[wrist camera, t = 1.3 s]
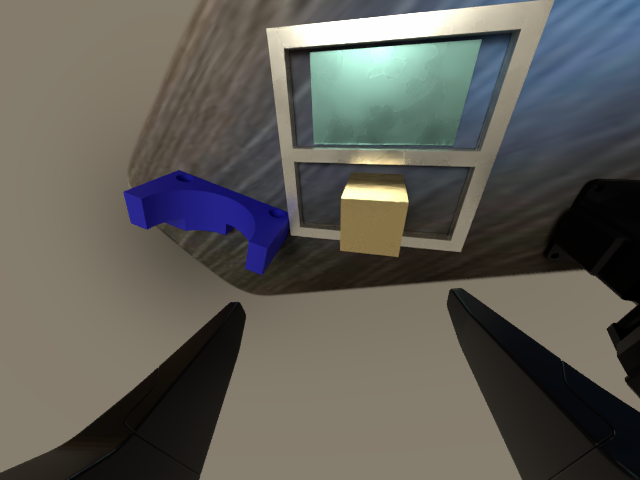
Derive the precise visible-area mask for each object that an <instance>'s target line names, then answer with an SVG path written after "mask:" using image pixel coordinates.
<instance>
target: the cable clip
mask: <svg viewBox="0 0 640 480" xmlns="http://www.w3.org/2000/svg"><path fill="white" fill-rule="evenodd" d="M124 196H125V200H126V205H127V209H128V213H129V217H130V221H131V223H132V224H134V225H137V226H139V227H142V228H145V229H149V228H151V227H153V226H155V225H158V224H160V223H163V222H165V223H167V224H170V225H173V226H175V227H178V228H180V229H183V230H185V231H188V230H205V231H212V232H217V233H221V234H224V235H226V234H227V233H228V232H229V231H231V230H232V229H233V227H234V228H236V229H237V230H239V231H240V232H241V233H242V234H244V236H245V237H246V238H247V239H248V241H249V246H248V254H247V261H246V268H245V269H248V270H250V271H253V272H255V273H258V274H261V275H262V274H263V273H264V271H265V270H266V268H267V267H268V265H269V264H270V262H271V261H272V259H273V258H274V256H275V255H276V253H277V252H278V250H279V249H280V247H281V246H282V244H283V243H284V241H285V240H286V238H287V234H288V230H289V226H290V223H289V215H288V212H285V211H283V210H280V209H278V208H275V207H273V206H270V205H267V204H265V203H262V202H260V201H257V200H255V199H252V198H249V197H247V196H244V195H242V194H239V193H237V192H234V191H231V190H229V189H226V188H224V187H221V186H219V185H216V184H213V183H211V182H208V181H206V180H203V179H201V178H198V177H195V176H193V175H190V174H188V173H185V172H183V171H180V170H178V171H176V172H173V173H170V174H168V175H165V176H163V177H160V178H158V179H155V180H152V181H150V182H147V183H145V184H142V185H140V186H137V187H134V188H132V189H129V190H127V191H124Z"/></svg>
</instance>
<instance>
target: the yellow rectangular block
mask: <svg viewBox="0 0 640 480" xmlns="http://www.w3.org/2000/svg"><path fill="white" fill-rule="evenodd" d="M408 204H409V201H408V197H407V192H406V187H405V183H404V178H403V174H378V173H351V175H350V177H349V180H348V182H347V185H346V187H345V190H344V192H343V195H342V197H341V231H340V251H348V252H358V253H367V254H376V255H385V256H395V257H398V256H399V251H400V245H401V240H402V235H403V230H404V225H405V219H406V214H407V209H408Z"/></svg>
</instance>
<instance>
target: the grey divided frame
mask: <svg viewBox="0 0 640 480" xmlns="http://www.w3.org/2000/svg"><path fill="white" fill-rule="evenodd" d="M553 2H554V0H540V1H530V2H520V3H511V4H501V5H491V6H481V7H472V8H462V9H452V10H443V11H433V12H423V13H413V14H404V15H394V16H384V17H375V18H365V19H355V20H345V21H336V22H326V23H316V24H307V25H297V26H287V27H277V28H268V29H267V37H268V46H269V54H270V63H271V71H272V80H273V88H274V96H275V105H276V113H277V122H278V130H279V139H280V147H281V156H282V164H283V173H284V181H285V190H286V198H287V206H288V215H289V223H290V232H291V235H293V236H303V237H313V238H323V239H334V240H340V231H341V225H330V224H318V223H306V222H303V216H302V204H301V192H300V180H299V167H298V162H318V163H354V164H390V165H426V166H462V167H470V168H469V171H468V174H467V177H466V180H465V183H464V186H463V190H462V193H461V196H460V199H459V202H458V205H457V208H456V212H455V215H454V218H453V221H452V224H451V227H450V230H449V233H448V235H447V234H435V233H423V232H412V231H403V235H402V240H401V245H400V246H404V247H414V248H425V249H435V250H445V251H455V252H461V250H462V247H463V244H464V242H465V239H466V236H467V234H468V231H469V228H470V226H471V223H472V220H473V218H474V215H475V212H476V209H477V207H478V204H479V201H480V199H481V196H482V193H483V191H484V188H485V185H486V183H487V180H488V177H489V174H490V172H491V169H492V166H493V164H494V161H495V158H496V156H497V153H498V150H499V148H500V145H501V142H502V140H503V137H504V134H505V131H506V129H507V126H508V123H509V121H510V118H511V115H512V113H513V110H514V107H515V105H516V102H517V99H518V96H519V94H520V91H521V88H522V86H523V83H524V80H525V78H526V75H527V72H528V70H529V67H530V64H531V62H532V59H533V56H534V53H535V51H536V48H537V45H538V43H539V40H540V37H541V35H542V32H543V29H544V27H545V24H546V21H547V19H548V16H549V13H550V10H551V8H552V5H553ZM504 33H512V36H511V39H510V42H509V45H508V49H507V52H506V55H505V58H504V61H503V64H502V67H501V70H500V74H499V77H498V80H497V83H496V86H495V89H494V92H493V96H492V99H491V102H490V105H489V108H488V111H487V114H486V118H485V121H484V124H483V127H482V130H481V133H480V136H479V139H478V143H477V146H476V148H414V147H335V146H297V143H296V131H295V118H294V106H293V94H292V82H291V69H290V57H289V51H290V50H302V49H315V48H328V47H340V46H353V45H365V44H378V43H390V42H403V41H416V40H428V39H441V38H453V37H466V36H479V35H491V34H504ZM481 41H482V39H479V40H466V41H452V42H439V43H426V44H413V45H400V46H387V47H374V48H361V49H347V50H334V51H321V52H310V64H311V88H312V111H313V134H314V144H357V145H451V146H453V145H454V142H455V138H456V134H457V130H458V127H459V123H460V119H461V116H462V112H463V108H464V104H465V101H466V97H467V93H468V89H469V86H470V82H471V78H472V74H473V71H474V67H475V63H476V59H477V56H478V52H479V48H480V45H481Z"/></svg>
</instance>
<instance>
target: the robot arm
mask: <svg viewBox="0 0 640 480" xmlns="http://www.w3.org/2000/svg"><path fill="white" fill-rule="evenodd" d="M598 185H600V187H599V188H597V189H595V190H594V188H595V187H596V186H598ZM554 253H556V254H555V255H552V254H554ZM544 256H545V257H546V258H547V259H548V260H550V261H557V262H567V263H578V264H579V265H580V266H582V267H583V268H584V269H585V270H586V271H587V272H588V273H589V274H591V275H593V276H596V277H597V278H598V279H600V280H601V281H602V282H603V283H604V284H606V285H607V286H608V287H609V288H610V289H611V290H612V291H613V292H614V293H616V294H617V295H618V296H619V297H620V298H621V299H623V300H628V301H632V302H634V303H635V304H636V305H637V306H636V307H635V308H634V309H632V310H631V311H630V312H629V313H628V314H627V315H625V316H624V317H623V318H622V319H621V320H620V321H618V322H617V323H613V324H611V325H610V326H609V327H608V328H607V331H608V333H609V336H610V337H611V340H612V342H613V344H614V347H615V349H616V351H617V357H618V359H619V361H620V363H621V364H622V366H623V368H624V370H625V371H626V373H627V375H628V376H627V377H625V381H626V383H627V385H628V386H629V387H630V388H631V389H632V391H633V392H634V393H636V395H637V396H638V397H639V398H640V180H619V179H595V180H592V181H591V182H589V183H588V184H587V185H586V186H585V188H584V189H583V191H582V193H581V194H580V196H579V198H578V199H577V201H576V202H575V204H574V206H573V207H572V209H571V211H569V213H568V215H567V216H566V218H565V220H564V221H563V223H562V224H561V226H560V228H559V229H558V231H557V233H556V234H555V236H554V237H553V240H552V241H551V243H550V245H549V246H548V248H547V249H546V251H545V253H544ZM447 308H448V311H449V314H450V317H451V320H452V323H453V326H454V329H455V332H456V335H457V338H458V340H459V343H460V346H461V348H462V351H463V353H464V355H465V357H466V359H467V361H468V364H469V366H470V368H471V370H472V372H473V374H474V377H475V379H476V381H477V383H478V385H479V387H480V390H481V392H482V394H483V396H484V398H485V400H486V402H487V405H488V407H489V409H490V411H491V413H492V415H493V418H494V420H495V422H496V424H497V426H498V428H499V431H500V433H501V435H502V437H503V439H504V441H505V444H506V446H507V448H508V450H509V452H510V454H511V456H512V459H513V460H514V463H515V465H516V467H517V469H518V471H519V474H520V476H521V478H522V480H640V412H638V411H637V410H635V409H634V408H632V407H630V406H629V405H627V404H626V403H624V402H623V401H621V400H620V399H618V398H617V397H615V396H613V395H612V394H611V393H609V392H608V391H606V390H604V389H603V388H601V387H600V386H598V385H597V384H596V383H594V382H592V381H591V380H590V379H588V378H587V377H585V376H584V375H583V374H581V373H579V372H578V371H577V370H575V369H574V368H572V367H571V366H570V365H568V364H567V363H565V362H564V361H561V359H560V358H559V357H557V356H556V355H554V354H553V353H551V352H550V351H549V350H547V349H546V348H545V347H543V346H542V345H540V344H539V343H538V342H536V341H535V340H533V339H532V338H531V337H529V336H528V335H526V334H525V333H524V332H522V331H521V330H519V329H518V328H517V327H515V326H514V325H512V324H511V323H510V322H508V321H507V320H505V319H504V318H503V317H501V316H500V315H498V314H497V313H496V312H494V311H493V310H491V309H490V308H489V307H487V306H486V305H485V304H483V303H482V302H480V301H479V300H478V299H476V298H475V297H473V296H472V295H471V294H469V293H467V292H466V291H465V290H464V289H462V288H455V289H451V290H450V291H449V295H448V300H447ZM245 320H246V314H245V311H244V310H243V308H242V306H241V304H240V303H239V302H231V303H229V304H228V305H227V306H225V307H224V308H223V309H222V310H221V311H220V312H219V313H218V314H217V315H216V316H214V317H213V318H212V319H211V320H210V321H209V322H208V323H207V324H206V325H205V326H203V327H202V328H201V329H200V330H199V331H198V332H197V333H196V334H195V335H193V336H192V337H191V338H190V339H189V340H188V341H187V342H186V343H184V344H183V345H182V346H181V347H180V348H179V349H178V350H177V351H176V352H174V353H173V354H172V355H171V356H170V357H169V358H168V359H167V360H166V361H165V362H163V363H162V364H161V365H160V366H159V368H157V369H156V370H154V372H152V373H151V374H150V375H149V376H148V377H147V378H146V379H144V380H143V381H142V382H141V383H140V384H139V385H138V386H136V387H135V388H134V389H133V390H132V391H130V392H129V393H128V394H127V395H126V396H124V397H123V398H122V399H121V400H120V401H118V402H117V403H116V404H115V405H113V406H112V407H111V408H110V409H108V410H107V411H106V412H105V413H104V414H103V415H101V416H100V417H99V418H97V419H96V420H95V421H94V422H92V423H91V424H90V425H89V426H87V427H86V428H85V429H84V430H83V431H81V432H80V433H79V434H77V435H76V436H75V437H73V438H72V439H70V440H69V441H67V442H66V443H64V444H62V445H61V446H59V447H57V448H55V449H53V450H51V451H49V452H47V453H45V454H42V455H40V456H38V457H35V458H33V459H31V460H29V461H26V462H24V463H22V464H19V465H17V466H15V467H13V468H10V469H8V470H6V471H4V472H1V473H0V480H199V479H200V474H201V472H202V469H203V465H204V462H205V459H206V455H207V452H208V449H209V446H210V443H211V439H212V436H213V433H214V430H215V427H216V423H217V420H218V417H219V414H220V411H221V407H222V404H223V401H224V398H225V395H226V391H227V388H228V385H229V382H230V379H231V376H232V372H233V369H234V366H235V363H236V360H237V356H238V353H239V349H240V345H241V340H242V335H243V330H244V325H245Z"/></svg>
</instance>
